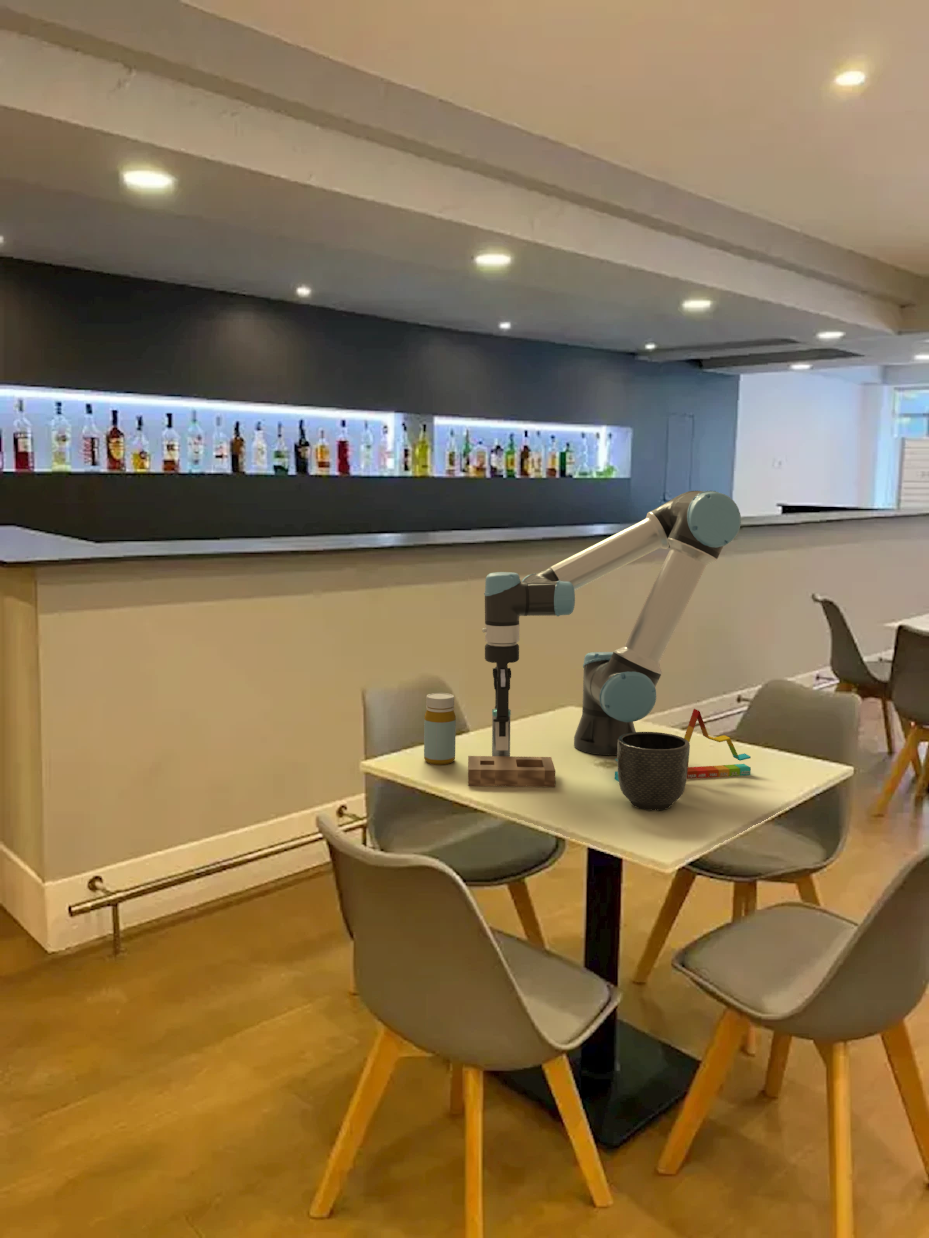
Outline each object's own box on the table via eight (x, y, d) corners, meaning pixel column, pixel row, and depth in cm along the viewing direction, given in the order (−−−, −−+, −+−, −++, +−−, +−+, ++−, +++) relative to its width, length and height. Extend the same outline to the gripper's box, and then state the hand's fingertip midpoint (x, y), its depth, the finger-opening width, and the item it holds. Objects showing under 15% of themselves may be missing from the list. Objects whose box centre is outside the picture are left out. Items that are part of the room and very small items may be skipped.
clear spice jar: (509, 760, 219) (510, 708, 217) (510, 765, 215) (511, 712, 213) (491, 760, 219) (491, 708, 217) (492, 765, 215) (492, 712, 213)
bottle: (456, 757, 223) (457, 693, 221) (453, 766, 216) (454, 699, 214) (426, 755, 224) (426, 691, 221) (422, 764, 217) (422, 698, 215)
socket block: (550, 772, 212) (551, 756, 212) (555, 786, 202) (555, 770, 202) (468, 771, 212) (468, 755, 212) (468, 785, 202) (468, 769, 202)
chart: (620, 784, 206) (622, 715, 203) (614, 779, 209) (616, 711, 207) (750, 776, 212) (754, 709, 210) (743, 772, 216) (747, 706, 213)
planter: (700, 812, 188) (703, 747, 186) (634, 818, 184) (637, 752, 182) (665, 790, 201) (668, 729, 199) (603, 795, 197) (605, 733, 195)
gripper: (483, 637, 221) (483, 737, 225) (485, 649, 205) (485, 757, 208) (517, 636, 221) (516, 737, 225) (521, 649, 205) (520, 757, 208)
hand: (501, 746), depth 217 cm, fingers closed on clear spice jar, 4 cm apart
